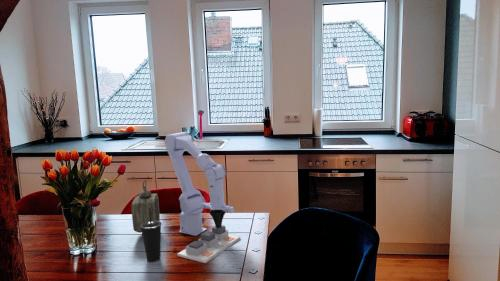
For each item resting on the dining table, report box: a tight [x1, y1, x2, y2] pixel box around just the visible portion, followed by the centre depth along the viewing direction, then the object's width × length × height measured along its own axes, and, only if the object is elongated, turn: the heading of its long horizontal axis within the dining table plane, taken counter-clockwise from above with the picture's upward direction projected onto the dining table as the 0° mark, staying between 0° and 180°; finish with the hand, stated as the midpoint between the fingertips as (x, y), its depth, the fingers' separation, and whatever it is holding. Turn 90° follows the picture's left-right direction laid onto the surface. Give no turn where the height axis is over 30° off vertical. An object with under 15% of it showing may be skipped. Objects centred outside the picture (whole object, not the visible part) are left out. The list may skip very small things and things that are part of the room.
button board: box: [177, 229, 241, 264], centre depth 154 cm, size 13×24×4 cm, turn 149°
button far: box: [211, 224, 227, 234], centre depth 160 cm, size 4×4×3 cm
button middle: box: [200, 230, 215, 241], centre depth 154 cm, size 4×4×3 cm
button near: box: [188, 240, 204, 249], centre depth 148 cm, size 4×4×3 cm
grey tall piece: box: [131, 178, 161, 238], centre depth 165 cm, size 14×9×25 cm, turn 6°
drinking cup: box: [140, 208, 163, 263], centre depth 144 cm, size 8×8×20 cm
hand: (218, 226), depth 160 cm, fingers closed
